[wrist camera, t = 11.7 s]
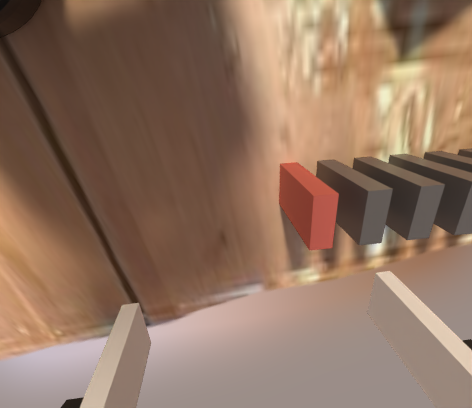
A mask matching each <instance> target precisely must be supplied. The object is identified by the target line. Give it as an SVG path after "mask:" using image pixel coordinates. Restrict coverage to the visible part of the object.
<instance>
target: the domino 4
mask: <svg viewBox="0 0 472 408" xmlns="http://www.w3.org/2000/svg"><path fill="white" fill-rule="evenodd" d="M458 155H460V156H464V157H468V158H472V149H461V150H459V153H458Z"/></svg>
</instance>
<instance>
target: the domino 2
mask: <svg viewBox="0 0 472 408" xmlns="http://www.w3.org/2000/svg"><path fill="white" fill-rule="evenodd" d="M353 169H354V170H356V171H358V172H360V173H362V174H364V175H366V176H368V177H370V178H372V179H374V180H376V181H378V182H380V183H382V184H384V185H386V186H388V187H390V188H392V189H393V191H392V195H391V200H390V205H389V209H388V214H387V219H386V223H385V224H386V225H387V226H388V227H390V228H391V229H393V230H394V231H395V232H397V233H398V234H399V235H401V236H402V237H404V238H405V239H406V240H414V239H423V238H429V236H430V232H431V229H432V226H433V222H434V219H435V216H436V212H437V209H438V206H439V203H440V199H441V196H442V193H443V189H444V186H445V184H443V183H440V182H437V181H435V180H432V179H429V178H427V177H424V176H421V175H418V174H416V173H413V172H410V171H408V170H405V169H402V168H400V167H397V166H394V165H392V164H389V163H386V162H383V161H381V160H378V159H375V158H373V157H361V158H354V163H353Z"/></svg>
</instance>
